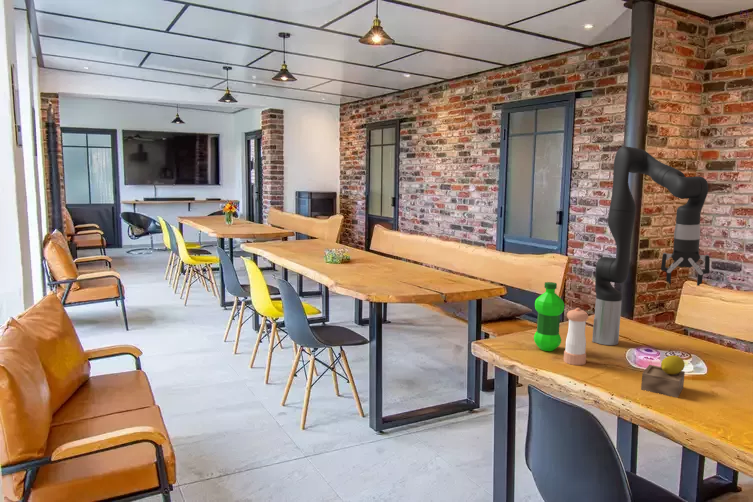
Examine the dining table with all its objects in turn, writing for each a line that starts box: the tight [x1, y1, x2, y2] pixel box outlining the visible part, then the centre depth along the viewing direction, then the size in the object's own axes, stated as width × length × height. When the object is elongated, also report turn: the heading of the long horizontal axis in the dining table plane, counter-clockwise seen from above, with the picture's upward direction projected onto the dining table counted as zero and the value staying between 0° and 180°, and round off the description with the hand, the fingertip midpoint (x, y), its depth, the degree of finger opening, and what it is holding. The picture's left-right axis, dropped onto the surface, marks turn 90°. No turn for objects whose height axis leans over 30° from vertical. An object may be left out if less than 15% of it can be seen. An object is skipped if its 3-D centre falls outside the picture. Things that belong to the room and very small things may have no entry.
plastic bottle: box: [533, 281, 565, 352], centre depth 206 cm, size 10×10×25 cm
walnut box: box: [640, 364, 686, 399], centre depth 170 cm, size 10×10×6 cm
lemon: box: [660, 355, 686, 375], centre depth 170 cm, size 6×6×8 cm
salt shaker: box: [563, 307, 589, 366], centre depth 193 cm, size 7×7×19 cm
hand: (683, 284), depth 188 cm, fingers open, 8 cm apart
